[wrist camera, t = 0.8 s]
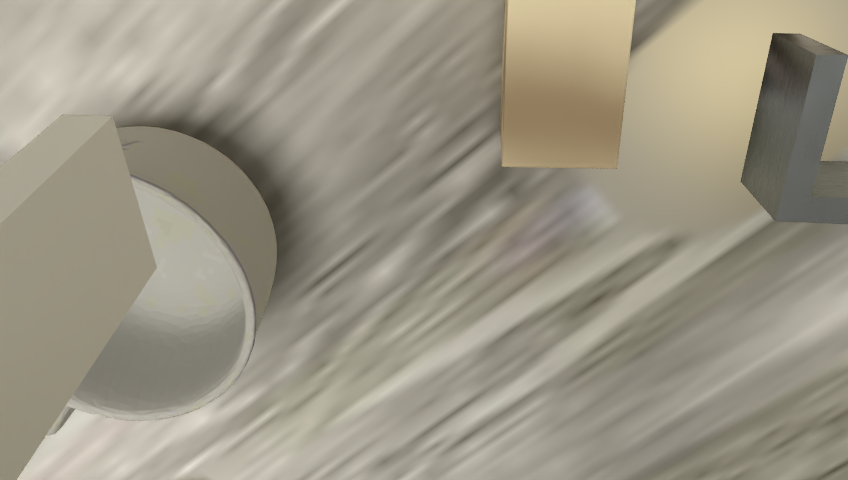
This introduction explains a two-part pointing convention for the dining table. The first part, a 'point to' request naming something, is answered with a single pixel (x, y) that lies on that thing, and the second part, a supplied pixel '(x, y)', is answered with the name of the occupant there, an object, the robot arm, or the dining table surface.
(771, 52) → the grey u-channel bracket
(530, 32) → the tan long bar
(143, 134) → the teacup
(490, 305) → the dining table surface
